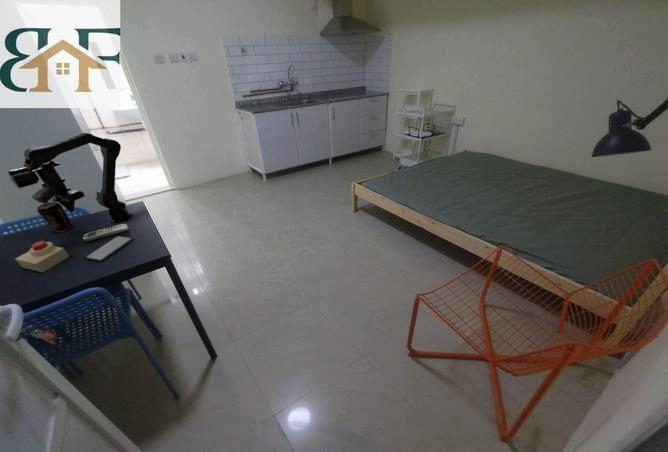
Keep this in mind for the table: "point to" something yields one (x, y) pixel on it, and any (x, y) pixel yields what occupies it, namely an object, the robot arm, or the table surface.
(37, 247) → the power button
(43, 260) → the power button base
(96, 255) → the smartphone
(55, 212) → the coffee cup
